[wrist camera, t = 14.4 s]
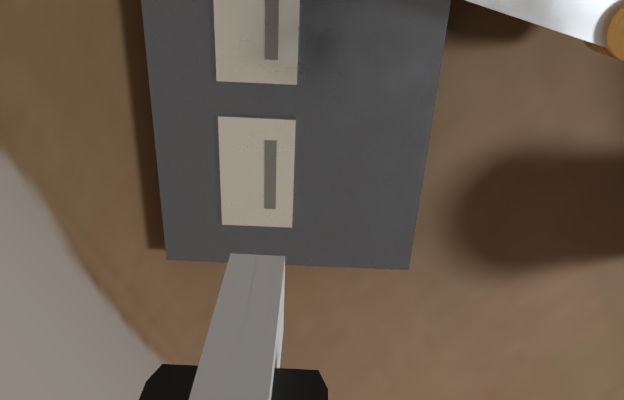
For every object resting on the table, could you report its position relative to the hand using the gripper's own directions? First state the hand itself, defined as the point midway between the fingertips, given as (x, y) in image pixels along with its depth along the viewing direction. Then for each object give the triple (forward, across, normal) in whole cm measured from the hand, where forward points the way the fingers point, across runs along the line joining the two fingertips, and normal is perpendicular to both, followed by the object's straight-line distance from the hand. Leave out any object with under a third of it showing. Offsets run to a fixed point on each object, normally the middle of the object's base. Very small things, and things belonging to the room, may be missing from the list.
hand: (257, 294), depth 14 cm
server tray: (+18, 0, +1) cm, 18 cm away
